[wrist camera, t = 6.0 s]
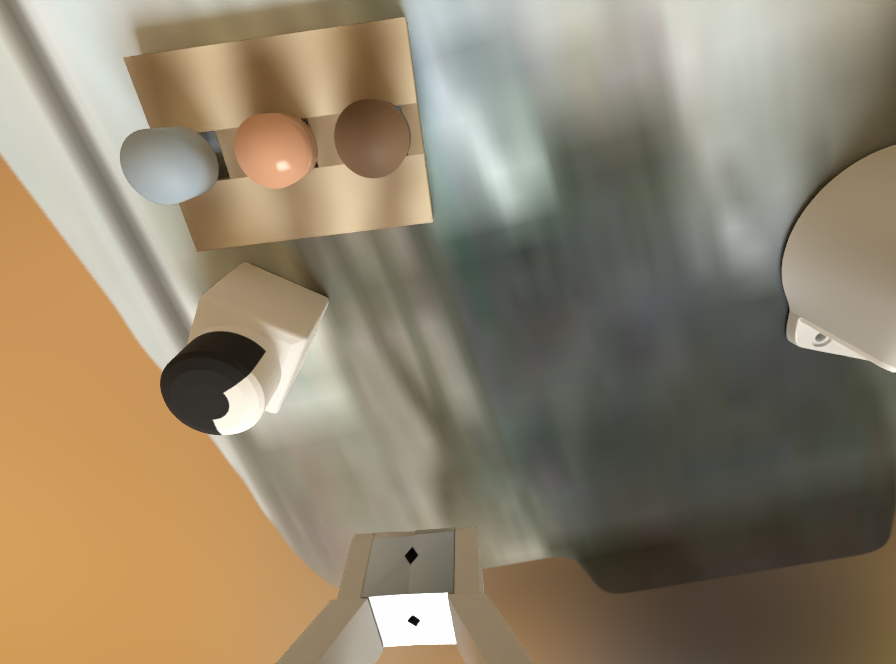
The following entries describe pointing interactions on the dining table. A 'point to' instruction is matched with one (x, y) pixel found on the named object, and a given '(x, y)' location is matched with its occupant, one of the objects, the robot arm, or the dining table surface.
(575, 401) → the dining table surface
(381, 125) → the brown rounded piece
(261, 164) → the peach rounded knob
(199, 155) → the slate-blue button
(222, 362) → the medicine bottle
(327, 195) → the button board
